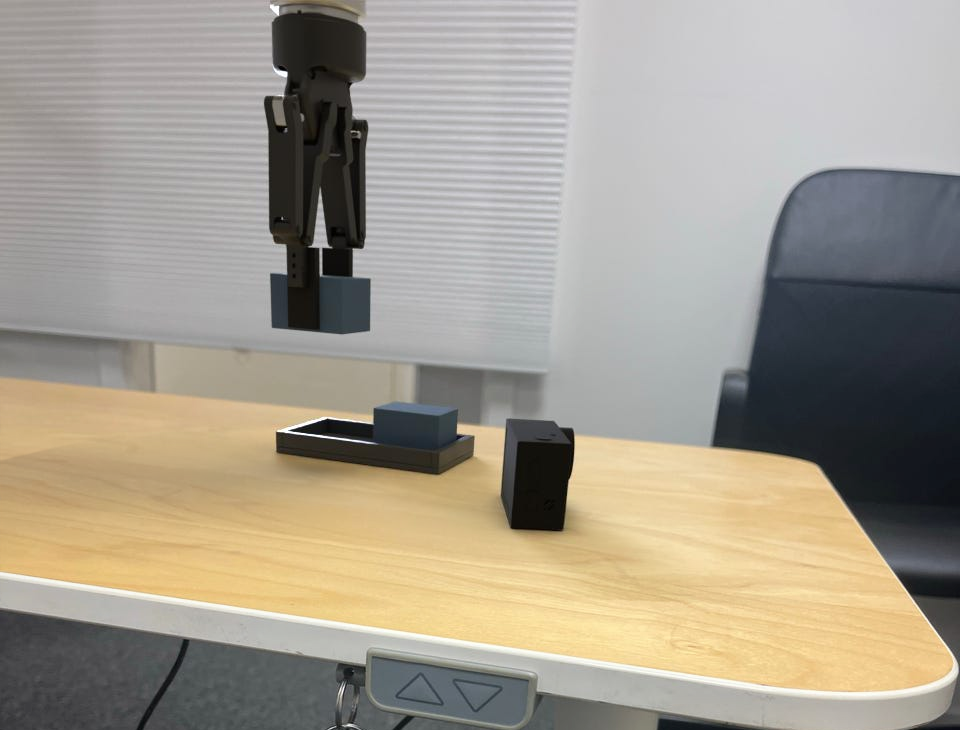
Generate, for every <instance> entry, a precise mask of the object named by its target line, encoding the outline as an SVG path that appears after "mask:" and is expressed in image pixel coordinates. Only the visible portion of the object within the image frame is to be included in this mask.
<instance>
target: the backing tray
mask: <svg viewBox="0 0 960 730" xmlns="http://www.w3.org/2000/svg"><path fill="white" fill-rule="evenodd" d="M475 437H476V436H475V435H474V434H473V435H471V434H466V433H465V434H464V433H457V440H456V441H454V442H452V443H450V444H448V445H446V446H443V447H441V448H439V449H437V450H435V451H434V450H426V449H418V448H411V447H403V446H396V445H388V444H380V443H373V422H367V421H360V420H354V419H353V420H351V419H344V418H336V417H329V416H323V417H319V418H315V419H313V420H309V421H306V422H303V423H300V424H296V425H294V426H290V427H286V428H283V429H280V430H276V431H275V453H279V454H287V455H295V456H301V457H310V458H318V459H322V460H323V459H324V460H330V461H331V460H333V461H339V462H346V463H352V464H360V465H368V466H374V467H381V468H389V469H396V470H403V471H410V472H418V473H425V474H433V475H440V474H442V473H443V472H445V471H447V470H450V469H451V468H453V467H455V466H457V465H459V464H460V463H462V462H463V461H466V460H467V459H470V458H471V457H473V456H474V455H475V453H474V452H475Z"/></svg>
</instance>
